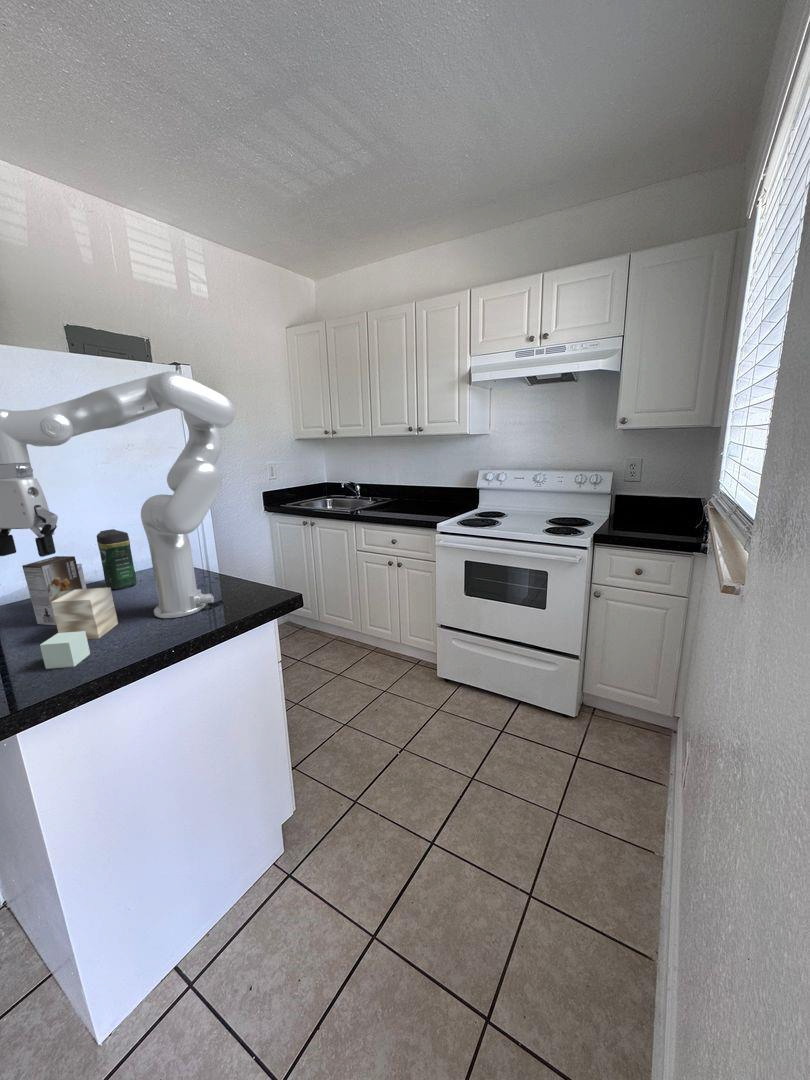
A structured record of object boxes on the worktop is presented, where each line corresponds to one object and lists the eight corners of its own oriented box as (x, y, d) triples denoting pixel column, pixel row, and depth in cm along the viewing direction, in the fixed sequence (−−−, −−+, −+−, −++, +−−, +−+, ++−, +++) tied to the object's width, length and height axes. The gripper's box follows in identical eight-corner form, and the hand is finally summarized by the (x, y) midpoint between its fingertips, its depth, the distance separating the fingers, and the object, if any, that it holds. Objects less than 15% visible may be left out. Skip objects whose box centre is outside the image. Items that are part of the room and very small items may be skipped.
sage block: (90, 654, 94) (85, 631, 93) (74, 666, 89) (68, 642, 88) (63, 656, 94) (57, 633, 92) (45, 669, 88) (39, 644, 87)
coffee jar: (141, 585, 140) (131, 529, 136) (113, 592, 134) (102, 534, 130) (129, 579, 146) (119, 526, 142) (103, 586, 140) (91, 530, 136)
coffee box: (69, 610, 120) (57, 555, 116) (88, 611, 118) (76, 555, 115) (36, 624, 111) (21, 565, 107) (56, 626, 110) (41, 565, 106)
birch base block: (118, 624, 110) (114, 605, 109) (99, 639, 102) (95, 619, 101) (82, 626, 109) (78, 608, 108) (60, 642, 101) (56, 622, 100)
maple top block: (114, 606, 109) (110, 587, 108) (94, 619, 101) (90, 599, 99) (78, 608, 108) (74, 589, 107) (55, 622, 100) (50, 602, 99)
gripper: (62, 470, 89) (79, 550, 93) (-9, 472, 91) (11, 550, 95) (26, 473, 82) (46, 560, 86) (-50, 475, 84) (-27, 559, 88)
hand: (27, 554), depth 90 cm, fingers open, 9 cm apart
